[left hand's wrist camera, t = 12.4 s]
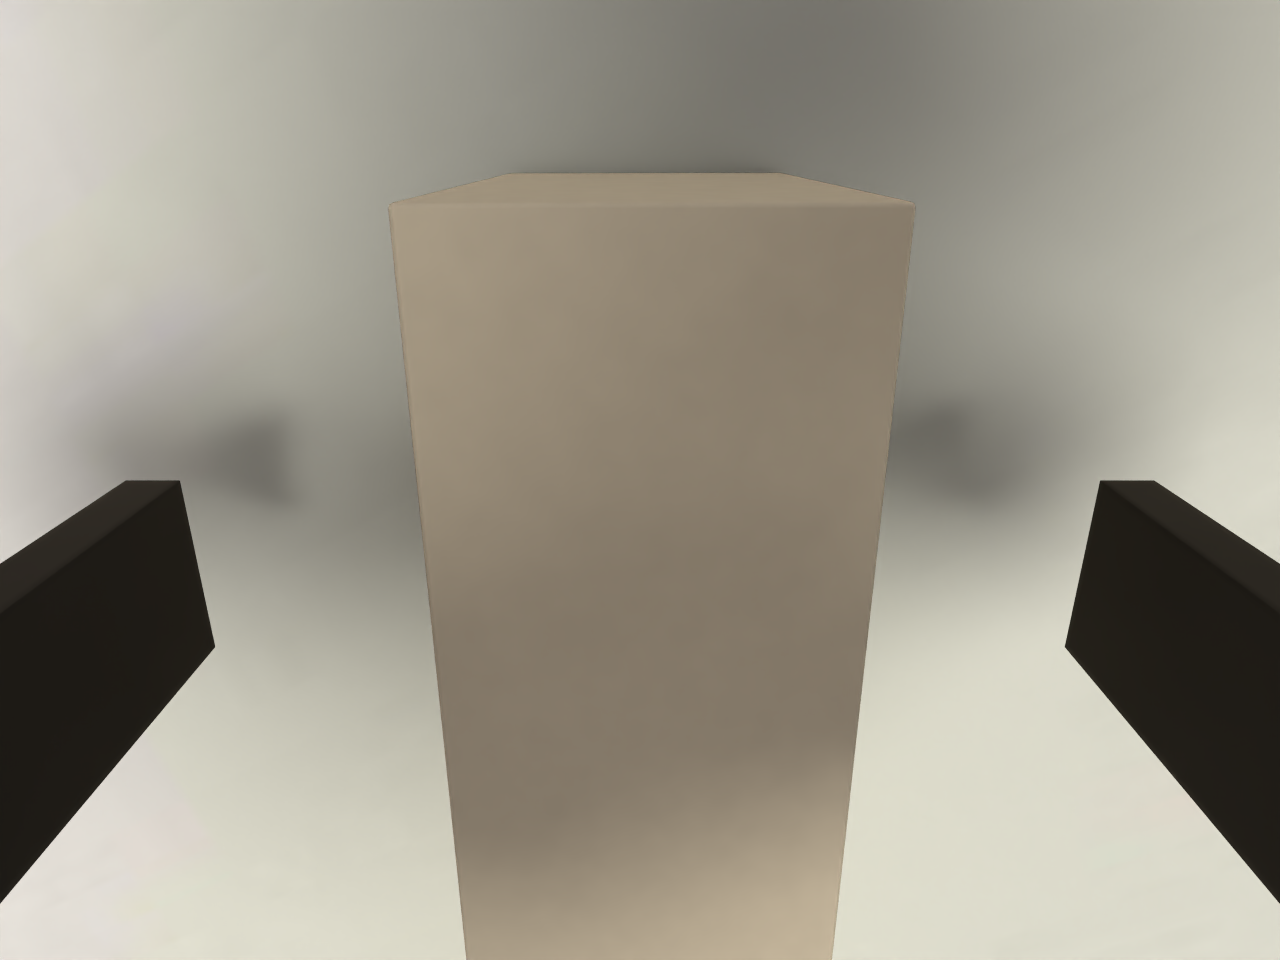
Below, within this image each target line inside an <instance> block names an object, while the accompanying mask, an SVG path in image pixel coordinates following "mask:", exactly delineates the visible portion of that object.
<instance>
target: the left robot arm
mask: <svg viewBox="0 0 1280 960" xmlns="http://www.w3.org/2000/svg"><path fill="white" fill-rule="evenodd" d="M214 648H215V644H214V639H213V635H212V630H211V625H210V620H209V616H208V611H207V606H206V602H205V597H204V592H203V588H202V583H201V578H200V573H199V569H198V564H197V559H196V555H195V550H194V545H193V540H192V536H191V531H190V526H189V522H188V517H187V512H186V508H185V503H184V498H183V493H182V489H181V484H180V481H124V482H123V483H121V484H120V485H118V486H117V487H115V488H114V489H112V490H111V491H109V492H108V493H106V494H105V495H103V496H102V497H100V498H99V499H97V500H96V501H94V502H93V503H91V504H90V505H88V506H87V507H85V508H84V509H82V510H81V511H79V512H78V513H76V514H75V515H73V516H72V517H70V518H69V519H67V520H66V521H64V522H63V523H61V524H60V525H58V526H57V527H55V528H54V529H52V530H51V531H49V532H48V533H46V534H45V535H43V536H42V537H40V538H38V539H37V540H35V541H34V542H32V543H31V544H29V545H28V546H26V547H25V548H23V549H22V550H20V551H19V552H17V553H16V554H14V555H13V556H11V557H10V558H8V559H7V560H5V561H4V562H2V563H1V564H0V903H1V902H2V901H3V900H4V898H5V897H6V896H7V895H8V894H9V892H10V891H11V890H12V889H13V888H14V886H15V885H16V884H17V883H18V882H19V881H20V879H21V878H22V877H23V876H24V875H25V873H26V872H27V871H28V870H29V869H30V867H31V866H32V865H33V864H34V863H35V861H36V860H37V859H38V858H39V857H40V855H41V854H42V853H43V852H44V851H45V849H46V848H47V847H48V846H49V845H50V844H51V842H52V841H53V840H54V839H55V838H56V836H57V835H58V834H59V833H60V832H61V830H62V829H63V828H64V827H65V826H66V824H67V823H68V822H69V821H70V820H71V818H72V817H73V816H74V815H75V814H76V812H77V811H78V810H79V809H80V808H81V806H82V805H83V804H84V803H85V802H86V801H87V799H88V798H89V797H90V796H91V795H92V793H93V792H94V791H95V790H96V789H97V787H98V786H99V785H100V784H101V783H102V781H103V780H104V779H105V778H106V777H107V775H108V774H109V773H110V772H111V771H112V769H113V768H114V767H115V766H116V765H117V764H118V762H119V761H120V760H121V759H122V758H123V756H124V755H125V754H126V753H127V752H128V750H129V749H130V748H131V747H132V746H133V744H134V743H135V742H136V741H137V740H138V738H139V737H140V736H141V735H142V734H143V732H144V731H145V730H146V729H147V728H148V727H149V725H150V724H151V723H152V722H153V721H154V719H155V718H156V717H157V716H158V715H159V713H160V712H161V711H162V710H163V709H164V707H165V706H166V705H167V704H168V703H169V701H170V700H171V699H172V698H173V697H174V695H175V694H176V693H177V692H178V691H179V690H180V688H181V687H182V686H183V685H184V684H185V682H186V681H187V680H188V679H189V678H190V676H191V675H192V674H193V673H194V672H195V670H196V669H197V668H198V667H199V666H200V664H201V663H202V662H203V661H204V660H205V658H206V657H207V656H208V655H209V654H210V653H211V651H212V650H213V649H214ZM1065 648H1066V649H1067V650H1068V651H1069V653H1070V654H1071V655H1072V656H1073V657H1074V658H1075V660H1076V661H1077V662H1078V663H1079V664H1080V666H1081V667H1082V668H1083V669H1084V670H1085V672H1086V673H1087V674H1088V675H1089V676H1090V678H1091V679H1092V680H1093V681H1094V682H1095V684H1096V685H1097V686H1098V687H1099V688H1100V690H1101V691H1102V692H1103V693H1104V694H1105V695H1106V697H1107V698H1108V699H1109V700H1110V701H1111V703H1112V704H1113V705H1114V706H1115V707H1116V709H1117V710H1118V711H1119V712H1120V713H1121V715H1122V716H1123V717H1124V718H1125V719H1126V721H1127V722H1128V723H1129V724H1130V725H1131V727H1132V728H1133V729H1134V730H1135V731H1136V732H1137V734H1138V735H1139V736H1140V737H1141V738H1142V740H1143V741H1144V742H1145V743H1146V744H1147V746H1148V747H1149V748H1150V749H1151V750H1152V752H1153V753H1154V754H1155V755H1156V756H1157V758H1158V759H1159V760H1160V761H1161V762H1162V764H1163V765H1164V766H1165V767H1166V768H1167V769H1168V771H1169V772H1170V773H1171V774H1172V775H1173V777H1174V778H1175V779H1176V780H1177V781H1178V783H1179V784H1180V785H1181V786H1182V787H1183V789H1184V790H1185V791H1186V792H1187V793H1188V795H1189V796H1190V797H1191V798H1192V799H1193V801H1194V802H1195V803H1196V804H1197V805H1198V806H1199V808H1200V809H1201V810H1202V811H1203V812H1204V814H1205V815H1206V816H1207V817H1208V818H1209V820H1210V821H1211V822H1212V823H1213V824H1214V826H1215V827H1216V828H1217V829H1218V830H1219V832H1220V833H1221V834H1222V835H1223V836H1224V838H1225V839H1226V840H1227V841H1228V842H1229V844H1230V845H1231V846H1232V847H1233V848H1234V849H1235V851H1236V852H1237V853H1238V854H1239V855H1240V857H1241V858H1242V859H1243V860H1244V861H1245V863H1246V864H1247V865H1248V866H1249V867H1250V869H1251V870H1252V871H1253V872H1254V873H1255V875H1256V876H1257V877H1258V878H1259V879H1260V881H1261V882H1262V883H1263V884H1264V885H1265V886H1266V888H1267V889H1268V890H1269V891H1270V892H1271V894H1272V895H1273V896H1274V897H1275V898H1276V900H1277V901H1278V902H1279V903H1280V564H1279V563H1278V562H1276V561H1275V560H1273V559H1272V558H1270V557H1269V556H1267V555H1266V554H1264V553H1263V552H1261V551H1260V550H1258V549H1257V548H1255V547H1254V546H1252V545H1251V544H1249V543H1248V542H1246V541H1245V540H1243V539H1242V538H1240V537H1238V536H1237V535H1235V534H1234V533H1232V532H1231V531H1229V530H1228V529H1226V528H1225V527H1223V526H1222V525H1220V524H1219V523H1217V522H1216V521H1214V520H1213V519H1211V518H1210V517H1208V516H1207V515H1205V514H1204V513H1202V512H1201V511H1199V510H1198V509H1196V508H1195V507H1193V506H1192V505H1190V504H1189V503H1187V502H1186V501H1184V500H1183V499H1181V498H1180V497H1178V496H1177V495H1175V494H1174V493H1172V492H1171V491H1169V490H1168V489H1166V488H1165V487H1163V486H1162V485H1160V484H1159V483H1157V482H1156V481H1100V484H1099V489H1098V493H1097V498H1096V503H1095V508H1094V512H1093V517H1092V522H1091V526H1090V531H1089V536H1088V541H1087V545H1086V550H1085V555H1084V559H1083V564H1082V569H1081V573H1080V578H1079V583H1078V588H1077V592H1076V597H1075V602H1074V606H1073V611H1072V616H1071V620H1070V625H1069V630H1068V635H1067V639H1066V644H1065Z"/></svg>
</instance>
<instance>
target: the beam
mask: <svg viewBox="0 0 1280 960" xmlns="http://www.w3.org/2000/svg"><path fill="white" fill-rule="evenodd" d="M388 211H389V221H390V230H391V240H392V249H393V259H394V269H395V278H396V288H397V297H398V307H399V317H400V326H401V336H402V345H403V355H404V365H405V374H406V384H407V393H408V403H409V413H410V422H411V432H412V441H413V451H414V461H415V470H416V480H417V489H418V499H419V509H420V518H421V528H422V537H423V547H424V557H425V566H426V576H427V585H428V595H429V605H430V614H431V624H432V633H433V643H434V653H435V662H436V672H437V681H438V691H439V701H440V710H441V720H442V729H443V739H444V748H445V758H446V768H447V777H448V787H449V796H450V806H451V816H452V825H453V835H454V844H455V854H456V864H457V873H458V883H459V892H460V902H461V912H462V921H463V931H464V940H465V950H466V960H832V953H833V944H834V935H835V926H836V917H837V908H838V899H839V890H840V881H841V872H842V863H843V854H844V845H845V836H846V827H847V818H848V809H849V800H850V791H851V782H852V773H853V764H854V755H855V746H856V737H857V728H858V719H859V710H860V701H861V692H862V683H863V674H864V665H865V656H866V647H867V638H868V629H869V620H870V611H871V602H872V593H873V584H874V575H875V566H876V557H877V548H878V539H879V530H880V521H881V512H882V503H883V494H884V485H885V476H886V467H887V458H888V449H889V440H890V431H891V422H892V413H893V405H894V396H895V387H896V378H897V369H898V360H899V351H900V342H901V333H902V324H903V315H904V306H905V297H906V288H907V279H908V270H909V261H910V252H911V243H912V234H913V225H914V216H915V205H914V203H912V202H910V201H905V200H901V199H896V198H892V197H887V196H883V195H878V194H874V193H869V192H865V191H860V190H856V189H851V188H846V187H842V186H837V185H833V184H828V183H824V182H819V181H815V180H810V179H806V178H801V177H797V176H792V175H788V174H783V173H509V174H505V175H501V176H497V177H493V178H489V179H485V180H481V181H477V182H473V183H469V184H465V185H461V186H457V187H453V188H449V189H445V190H441V191H437V192H433V193H429V194H425V195H421V196H417V197H413V198H409V199H405V200H401V201H397V202H393V203H391V204H389V208H388Z"/></svg>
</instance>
